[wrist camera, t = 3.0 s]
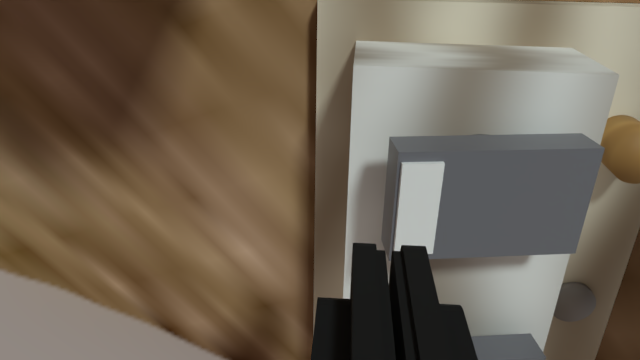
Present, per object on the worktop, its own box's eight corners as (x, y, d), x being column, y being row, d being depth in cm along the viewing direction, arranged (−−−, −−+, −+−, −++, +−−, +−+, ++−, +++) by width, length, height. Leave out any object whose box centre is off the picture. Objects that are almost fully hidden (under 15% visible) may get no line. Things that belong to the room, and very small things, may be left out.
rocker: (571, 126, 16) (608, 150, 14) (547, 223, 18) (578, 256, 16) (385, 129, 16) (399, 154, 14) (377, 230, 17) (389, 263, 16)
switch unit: (697, 5, 19) (799, 28, 14) (548, 465, 30) (579, 557, 26) (320, -5, 20) (305, 13, 15) (313, 444, 31) (303, 530, 27)
